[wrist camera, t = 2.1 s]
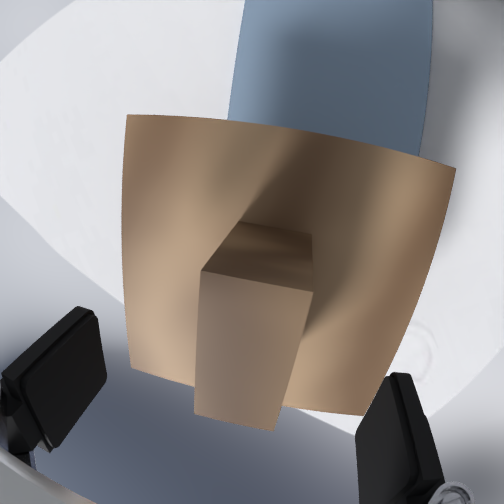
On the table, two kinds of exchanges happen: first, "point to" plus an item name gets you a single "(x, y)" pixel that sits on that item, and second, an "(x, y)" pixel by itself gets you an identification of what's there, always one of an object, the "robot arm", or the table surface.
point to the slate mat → (336, 68)
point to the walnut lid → (272, 262)
